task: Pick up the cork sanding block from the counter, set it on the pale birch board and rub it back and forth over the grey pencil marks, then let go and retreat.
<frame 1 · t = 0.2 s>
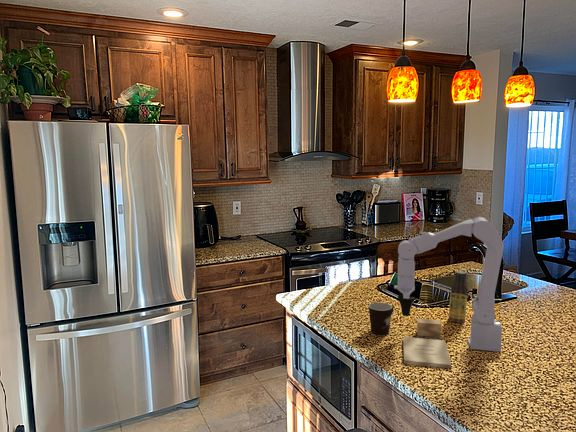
hand: (405, 311, 153), 10 cm above the worktop, tool pointing down, fingers open, 7 cm apart
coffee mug: (383, 332, 160), on the worktop
sauce bottle: (457, 321, 169), on the worktop
sanding block: (428, 335, 156), on the worktop
board: (425, 353, 142), on the worktop
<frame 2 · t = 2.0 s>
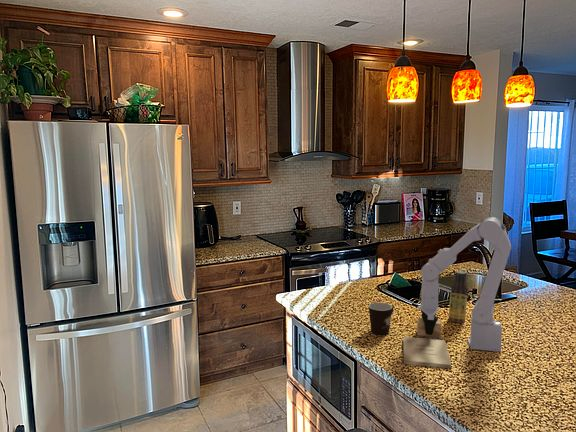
hand: (428, 331, 156), 1 cm above the worktop, tool pointing down, fingers closed on sanding block, 4 cm apart
sanding block: (428, 335, 156), on the worktop, touching gripper
everything else where it was.
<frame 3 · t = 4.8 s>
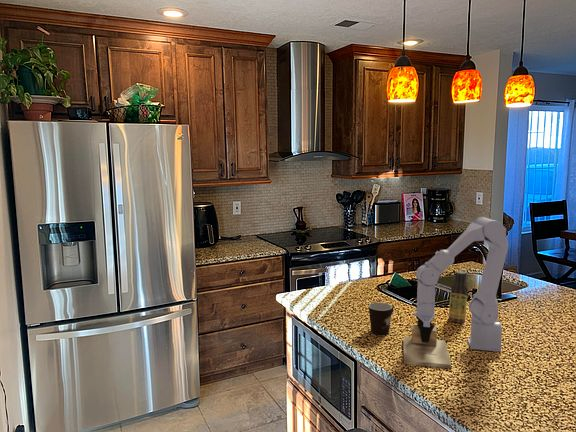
hand: (424, 339, 147), 3 cm above the worktop, tool pointing down, fingers closed on sanding block, 4 cm apart
sanding block: (423, 342, 147), point 1 cm above the worktop, touching gripper
everything else where it was.
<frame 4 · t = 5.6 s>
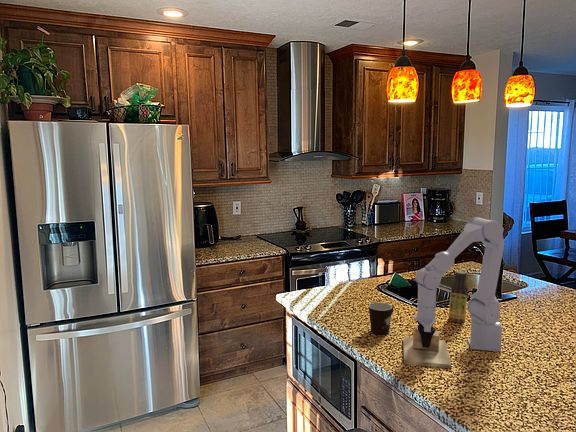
hand: (425, 344, 143), 3 cm above the worktop, tool pointing down, fingers closed on sanding block, 4 cm apart
sanding block: (425, 348, 143), point 1 cm above the worktop, touching gripper
everything else where it was.
when the fingers open (3 cm above the worktop, at t = 12.2 s): sanding block stays where it is, resting on board.
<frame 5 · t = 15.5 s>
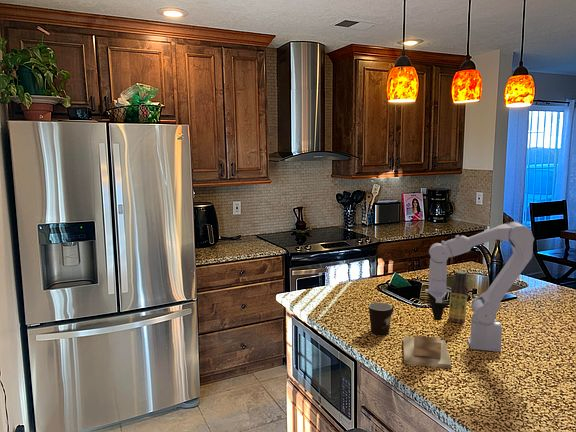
hand: (436, 316, 149), 9 cm above the worktop, tool pointing down, fingers open, 7 cm apart
sanding block: (426, 355, 138), point 1 cm above the worktop, touching board
everything else where it was.
at the end: sanding block inside the target area on the board (4.0 cm from its centre), point 1.2 cm above the board's base; sanding block moved 19.1 cm from its start; sanding block tilted 0° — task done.
